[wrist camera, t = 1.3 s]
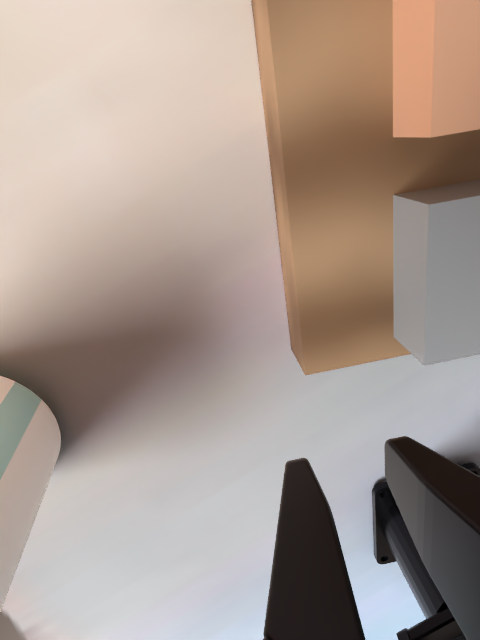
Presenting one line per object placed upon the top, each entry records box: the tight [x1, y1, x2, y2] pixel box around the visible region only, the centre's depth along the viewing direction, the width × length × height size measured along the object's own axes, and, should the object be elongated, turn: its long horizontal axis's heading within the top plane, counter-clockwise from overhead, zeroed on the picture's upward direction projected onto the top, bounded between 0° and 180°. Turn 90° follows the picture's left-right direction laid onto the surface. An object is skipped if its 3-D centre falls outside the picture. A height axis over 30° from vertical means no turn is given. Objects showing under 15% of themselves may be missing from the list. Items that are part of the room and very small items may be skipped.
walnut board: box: [252, 0, 480, 375], centre depth 17 cm, size 16×12×2 cm
